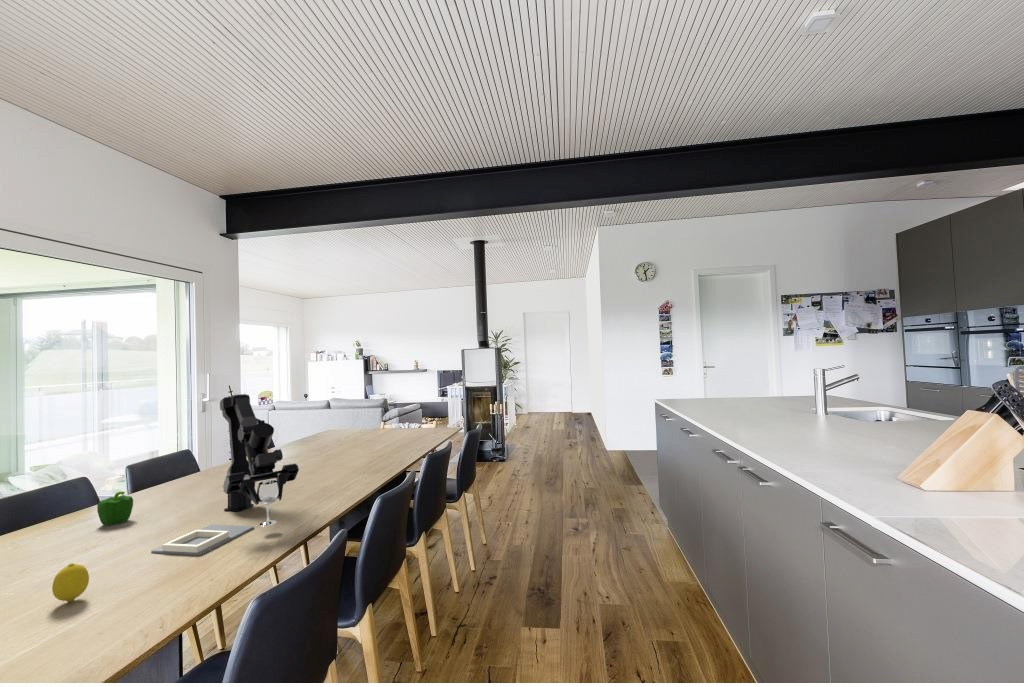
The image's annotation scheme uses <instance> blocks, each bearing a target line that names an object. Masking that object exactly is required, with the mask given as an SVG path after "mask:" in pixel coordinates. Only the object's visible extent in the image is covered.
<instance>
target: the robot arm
mask: <svg viewBox="0 0 1028 687" xmlns="http://www.w3.org/2000/svg"><path fill="white" fill-rule="evenodd" d="M250 397H251V396H250V395H249V394H247V393H243V394H242V393H241V394H240V393H239V394H234V395H231V396H224V397H223V398H222V399H221V400H220V402H219V408H220V411H221V413H222V417H223V418H224V419H225V420H226V422H227V423H228V431H229V432H228V434H229V445H230V456H231V458H230V460H231V463H230V464H229V467H228V470H227V471H226V475H225V478H224V481H223V485H222V487H223V492H224V493H225V494H226V495H227V507H226V508H224V509H223V511H224V512H226V511H227V512H228V511H229V512H241V511H244V510H247V509H248V508H251V507H253V506H255V505H256V506H259V505H260V503H259V501H258V496H257V491H256V490H257V489H256V488H255V487H256V483H257V482H263V481H268V480H276V481H277V483H278V487H279V497H278V501H281V500H282V497H283V489H284V485H286V484H287V482H292V481H294V480H296V478H297V476H298V474H299V471H300V468H299V465H298V464H297V463H290V464H284V465H282V468H281V470H275V468H276V463H278V462H281V461H282V460H283V458H284V457H283V455H284V454H283V452H282V449H281V448H280V449H279V448H278V449H274V451H271V452H270V451H269V449H268V447H269V446H270V443H271V440H272V438H273V436H274V432H275V429H274V428H275V427H274V426H272V424H269V423H267V422H265V420H263V419H262V420H261V419H259V418H257V417H256V415H255V412H254V410H253V407H252V405H251V398H250ZM274 470H275V471H274ZM252 502H253V503H252Z"/></svg>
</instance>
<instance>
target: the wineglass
mask: <svg viewBox="0 0 1028 687" xmlns="http://www.w3.org/2000/svg"><path fill="white" fill-rule="evenodd" d="M256 490H257V491H256V493H257V496H258V501H259V504H261V505H264V506H265V505H266V506H265V510H266V520H265V521H263V522H260V523H259V527H270V526H273V525H275V524H277V520H271V519H270V516H269V515H270V510H271V506H270V505H271V504H273V503H276V502H277V500H279V498H278V497H279V487H278V483H277V480H276V479H268V480H263V481H259V482H258V486H257V489H256Z"/></svg>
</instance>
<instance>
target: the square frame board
mask: <svg viewBox="0 0 1028 687" xmlns="http://www.w3.org/2000/svg"><path fill="white" fill-rule="evenodd" d="M254 529H255V526H253V525H251V526H250V525H231V524H230V525H227V524H209V525H207V526H204V527H202V528H200V529H196V530H193V531H191V532H189V533H186V534H184V535H181V536H178V537H177V538H175V539H172V540H170V541H169V542H166V543H164V544H162V545H161V546H159V547H157V548H154V549H153V550H151V554H160V555H161V554H165V555H166V554H167V555H168V554H169V555H179V554H180V555H183V556H198V555H199V556H198V557H200V556H203V555H205V554H207V553H208V551H209V552H210V550H211V551H213V550H214V548H215V549H216V547H217V548H218V547H221V546H223V545H224V544H226V543H228V542H230V541H232V540H234V539H236V538H238V537H240V536H242V535H243V534H246V533H248V532H250V531H252V530H254ZM212 549H213V550H212ZM206 552H207V553H206ZM204 553H205V554H204ZM202 554H203V555H202ZM180 555H179V556H180Z"/></svg>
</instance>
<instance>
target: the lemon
mask: <svg viewBox="0 0 1028 687" xmlns="http://www.w3.org/2000/svg"><path fill="white" fill-rule="evenodd" d="M89 582H90V574H89V570H87V568H86V567H85V566H84V565H81V564H79V563H77V564H75V563H73V562H72V563H69V564H68V565H66V566H64V567H63V568H62V569H61V570H59V571H58V572H57V573H56V575H55V577H54V579H53V581H52V586H51V588H52V589H51V592H52V595H53V597H54V598H55V599H57V600H59V601H61V602H67V603H72V602H74V601H75V600H76V598H78V597H80V596H81V595H82V594H83V593H84V592H86V589H87V588H88V585H89Z"/></svg>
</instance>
